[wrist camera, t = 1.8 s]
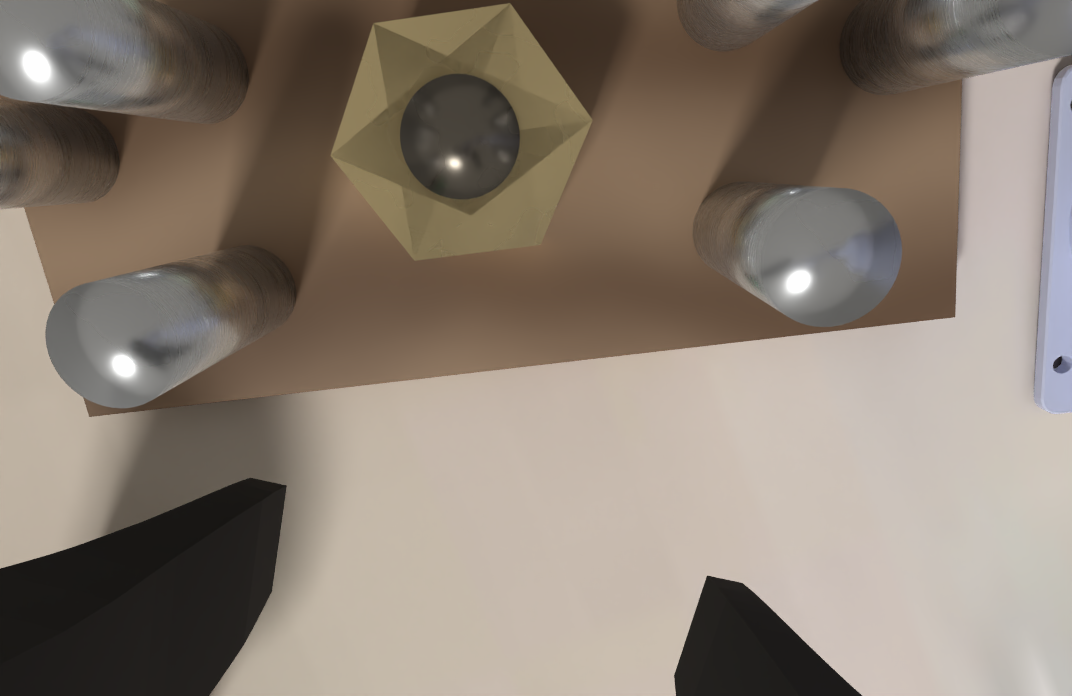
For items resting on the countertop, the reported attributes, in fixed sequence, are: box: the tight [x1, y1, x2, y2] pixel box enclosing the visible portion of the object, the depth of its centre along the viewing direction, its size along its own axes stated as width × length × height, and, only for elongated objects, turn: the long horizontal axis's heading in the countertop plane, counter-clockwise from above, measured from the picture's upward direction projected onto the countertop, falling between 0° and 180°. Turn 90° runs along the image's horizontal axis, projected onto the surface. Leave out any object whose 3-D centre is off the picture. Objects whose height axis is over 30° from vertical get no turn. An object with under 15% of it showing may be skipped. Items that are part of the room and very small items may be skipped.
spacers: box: [0, 0, 1072, 408], centre depth 14 cm, size 13×23×6 cm, turn 97°
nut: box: [330, 3, 593, 261], centre depth 16 cm, size 6×5×3 cm
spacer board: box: [0, 0, 962, 417], centre depth 17 cm, size 16×24×2 cm, turn 97°
